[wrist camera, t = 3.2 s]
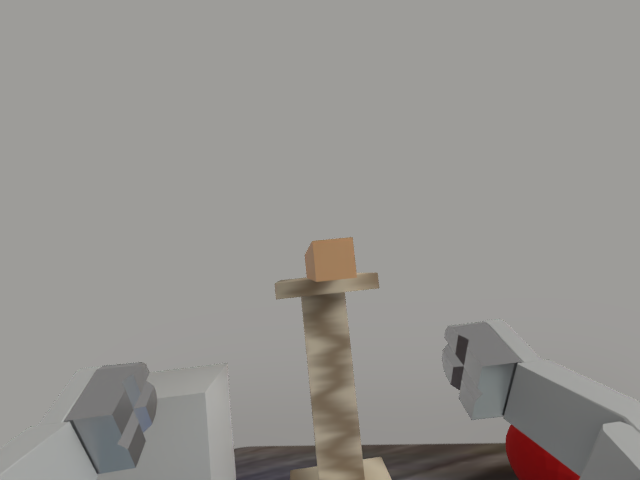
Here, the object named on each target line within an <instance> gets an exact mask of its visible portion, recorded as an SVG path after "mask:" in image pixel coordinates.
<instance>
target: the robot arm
mask: <svg viewBox="0 0 640 480" xmlns="http://www.w3.org/2000/svg"><path fill="white" fill-rule="evenodd" d="M445 339H446V341H447V342H448V345H447V346H446V347H445V348H444V349H443V354H442V362H443V368H444V372H445V374H446V377H447V378H448V380H449V382H450V384H451V385H452V386H454V387H456V388H457V389H459V390H460V393H459V400H460V401H461V403H462V405H463V406H464V408H465V410H466V411H467V413H468V415H469V417H470V418H471V420H476V419H485V418H494V417H503V416H504V419H505V420H506V421H508V422H509V423H510V424H512V425H513V426H514V427H516V428H517V429H518V430H520V431H521V432H522V433H524V434H525V435H526V436H527V437H529V438H530V439H531V440H533V441H534V442H535V443H537V444H538V445H539V446H541V447H542V448H543V449H545V450H546V451H547V452H548V453H550V454H551V455H552V456H554V457H555V458H556V459H558V460H559V461H560V462H562V463H563V464H564V465H566V466H567V467H568V468H569V469H571V470H572V471H573V472H575V473H576V474H577V475H579V476H580V478H579V480H640V401H638V400H635V399H633V398H631V397H629V396H627V395H625V394H622V393H620V392H618V391H616V390H614V389H612V388H609V387H607V386H605V385H603V384H600V383H599V382H596V381H594V380H592V379H590V378H588V377H585V376H583V375H581V374H579V373H577V372H575V371H573V370H570V369H568V368H566V367H564V366H562V365H560V364H558V363H555V362H553V361H551V360H548V359H546V360H542V359H541V358H540V357H539V356H538V354H537V353H536V352H534V350H533V349H532V348H531V347H530V346H529V345H528V344H527V343H526V342H525V341H524V340H523V339H522V338H521V337H520V336H519V335H518V334H517V333H516V332H515V331H514V330H513V329H512V328H511V327H510V326H509V325H508V324H507V323H506V322H505V321H504V320H501V319H495V320H488V321H482V322H475V323H467V324H459V325H452V326H448V327H447V329H446V331H445ZM148 376H149V370H148V368H147V365H146V364H145V363H142V362H139V363H128V364H117V365H107V366H102V367H90V368H82V369H80V370H78V371H77V372H75V374H74V375H73V377H72V378H71V379H70V381H69V382H68V383H67V385H66V386H65V388H64V389H63V391H62V392H61V393H60V395H59V396H58V398H57V399H56V400H55V402H54V403H53V405H52V406H51V407H50V409H49V410H48V412H47V413H46V414H45V416H44V417H43V419H42V420H41V421H40V423H39V424H38V425H37V426H31V427H29V428H28V429H26V430H25V431H24V432H22V433H21V434H19V435H18V436H16V437H15V438H14V439H12V440H11V441H9V442H8V443H6V444H5V445H4V446H2V447H1V448H0V480H96V478H97V477H98V474H103V473H109V472H114V471H120V470H126V469H132V468H136V466H137V464H138V461H139V458H140V456H141V453H142V450H143V448H144V445H145V442H146V440H145V437H144V434H143V433H144V432H145V431H146V430H147V429H148V428H149V427H150V426H151V425H152V423H153V421H154V418H155V415H156V409H157V394H156V390H155V387H154V385H152V384H151V383H149V382H148V381H146V380H147V378H148Z"/></svg>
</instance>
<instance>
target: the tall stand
mask: <svg viewBox="0 0 640 480" xmlns="http://www.w3.org/2000/svg"><path fill="white" fill-rule="evenodd" d="M376 288H379V282H378V274H377V273H357V278H349V279H340V280H330V281H321V282H315V281H313V280H311V279H309V278H299V279H288V280H281V281H278V282H277V283H275V293H276V299H284V298H293V297H301V301H302V311H303V322H304V332H305V342H306V353H307V363H308V374H309V384H310V393H311V405H312V415H313V425H314V435H315V446H316V457H317V466H316V467H310V468H303V469H296V470H290V480H391V477H390V475H389V473H388V471H387V469H386V467H385V464H384V462H383V460H382V458H381V457H377V458H370V459H363V458H362V448H361V439H360V430H359V420H358V411H357V403H356V393H355V383H354V374H353V364H352V355H351V346H350V337H349V327H348V318H347V309H346V301H345V300H346V299H345V292H349V291H358V290H367V289H376Z"/></svg>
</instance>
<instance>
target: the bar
mask: <svg viewBox="0 0 640 480" xmlns="http://www.w3.org/2000/svg"><path fill="white" fill-rule="evenodd" d="M305 263H306V273H307V278H309V279H311V280H313V281H315V282H321V281H330V280H340V279H349V278H357V273H356V265H355V255H354V247H353V238H352V237H350V238H339V239H329V240H318V241H312V242H311V244H310V246H309V248H308V250H307V252H306V254H305Z"/></svg>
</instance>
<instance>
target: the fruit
mask: <svg viewBox="0 0 640 480" xmlns="http://www.w3.org/2000/svg"><path fill="white" fill-rule="evenodd" d="M506 452H507V456H508V459H509V462H510V465H511V467H512V469H513V471H514V472H515V474H516V476H517V477H518V479H519V480H579V478H580V476H579V475H577V474H576V473H575V472H573V471H572V470H571V469H569V468H568V467H567V466H566V465H564V464H563V463H562V462H560V461H559V460H558V459H556V458H555V457H554V456H552V455H551V454H550V453H548V452H547V451H546V450H545V449H543V448H542V447H541V446H539V445H538V444H537V443H535V442H534V441H533V440H531V439H530V438H529V437H527V436H526V435H525V434H524V433H522V432H521V431H520V430H518V429H517V428H516V427H514V426H513V425H512V424H511V426H510V427H509V430H508V433H507V435H506Z"/></svg>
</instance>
